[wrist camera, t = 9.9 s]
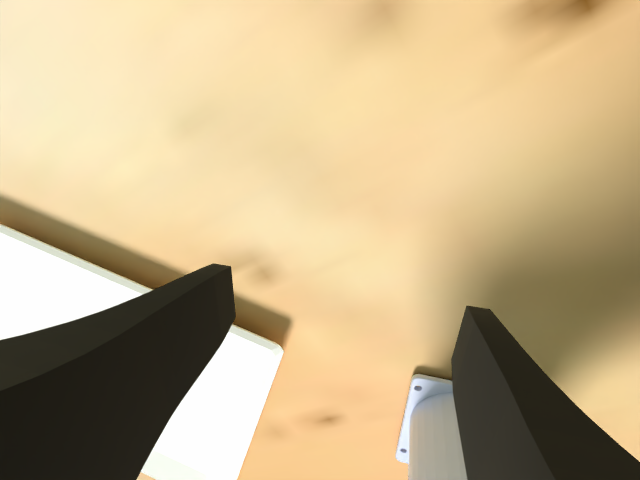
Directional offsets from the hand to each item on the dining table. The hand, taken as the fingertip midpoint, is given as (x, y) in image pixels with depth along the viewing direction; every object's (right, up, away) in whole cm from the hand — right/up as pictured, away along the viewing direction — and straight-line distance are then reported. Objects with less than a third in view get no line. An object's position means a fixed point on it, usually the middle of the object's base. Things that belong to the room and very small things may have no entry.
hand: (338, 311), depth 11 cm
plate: (-18, -10, +23) cm, 31 cm away
